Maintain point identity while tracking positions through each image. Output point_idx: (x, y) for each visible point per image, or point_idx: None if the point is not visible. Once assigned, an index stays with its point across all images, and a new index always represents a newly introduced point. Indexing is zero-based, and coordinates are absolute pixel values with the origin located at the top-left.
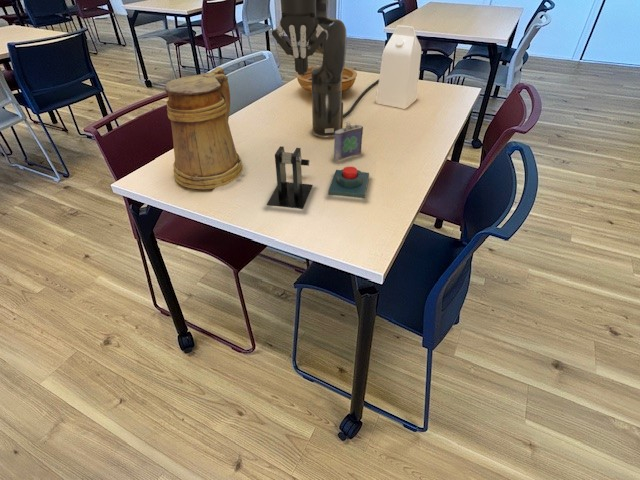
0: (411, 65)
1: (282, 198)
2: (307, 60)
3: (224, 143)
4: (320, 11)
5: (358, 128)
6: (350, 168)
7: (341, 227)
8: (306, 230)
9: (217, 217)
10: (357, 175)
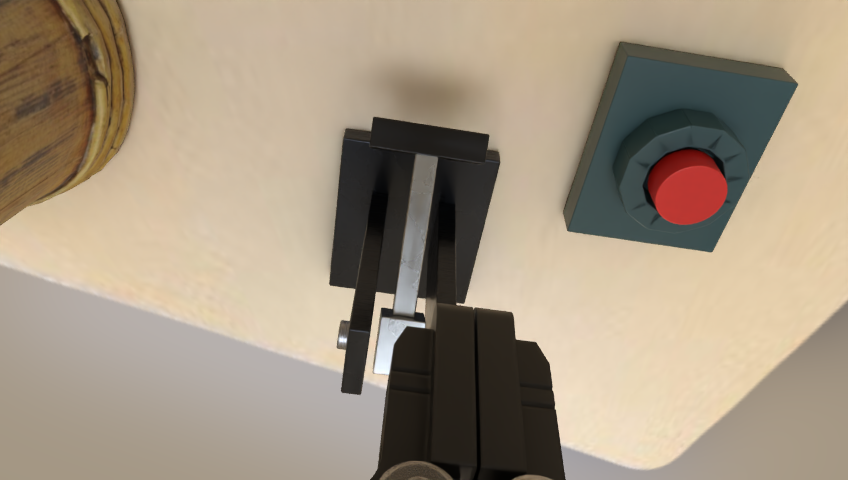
0: None
1: (381, 254)
2: (555, 461)
3: (3, 189)
4: None
5: None
6: (695, 184)
7: (588, 352)
8: None
9: (179, 315)
10: (720, 167)
